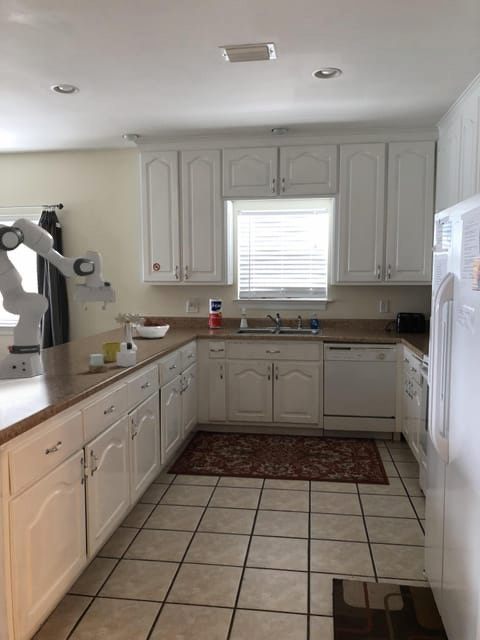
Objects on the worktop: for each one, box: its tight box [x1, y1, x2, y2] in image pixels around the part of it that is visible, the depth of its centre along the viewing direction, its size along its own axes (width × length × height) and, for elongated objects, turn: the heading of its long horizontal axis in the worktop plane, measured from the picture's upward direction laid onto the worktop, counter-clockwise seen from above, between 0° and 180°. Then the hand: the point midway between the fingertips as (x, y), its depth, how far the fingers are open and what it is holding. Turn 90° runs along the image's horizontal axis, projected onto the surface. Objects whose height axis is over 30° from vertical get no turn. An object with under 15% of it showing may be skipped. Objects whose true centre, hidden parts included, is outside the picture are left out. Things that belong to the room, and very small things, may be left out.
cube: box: [89, 353, 104, 366], centre depth 251 cm, size 5×5×5 cm
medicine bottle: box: [116, 342, 137, 368], centre depth 267 cm, size 7×7×12 cm
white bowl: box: [135, 318, 170, 339], centre depth 387 cm, size 25×25×15 cm
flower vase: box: [114, 312, 147, 352], centre depth 304 cm, size 13×18×25 cm
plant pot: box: [102, 341, 122, 362], centre depth 282 cm, size 10×10×10 cm
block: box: [88, 363, 108, 374], centre depth 250 cm, size 7×7×3 cm
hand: (94, 310), depth 263 cm, fingers open, 8 cm apart
